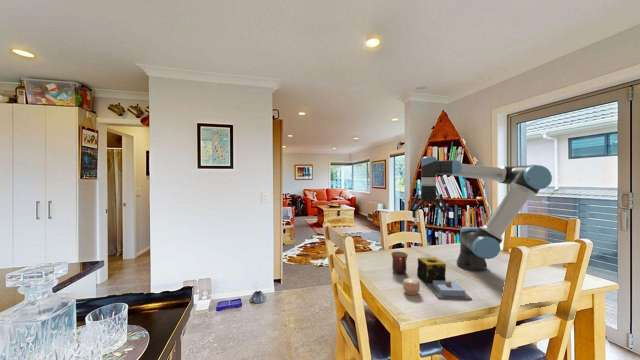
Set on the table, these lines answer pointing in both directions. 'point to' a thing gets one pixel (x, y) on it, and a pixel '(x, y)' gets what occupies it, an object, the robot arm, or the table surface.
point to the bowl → (411, 286)
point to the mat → (447, 296)
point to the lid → (448, 288)
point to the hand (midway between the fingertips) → (428, 223)
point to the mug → (399, 262)
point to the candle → (431, 270)
